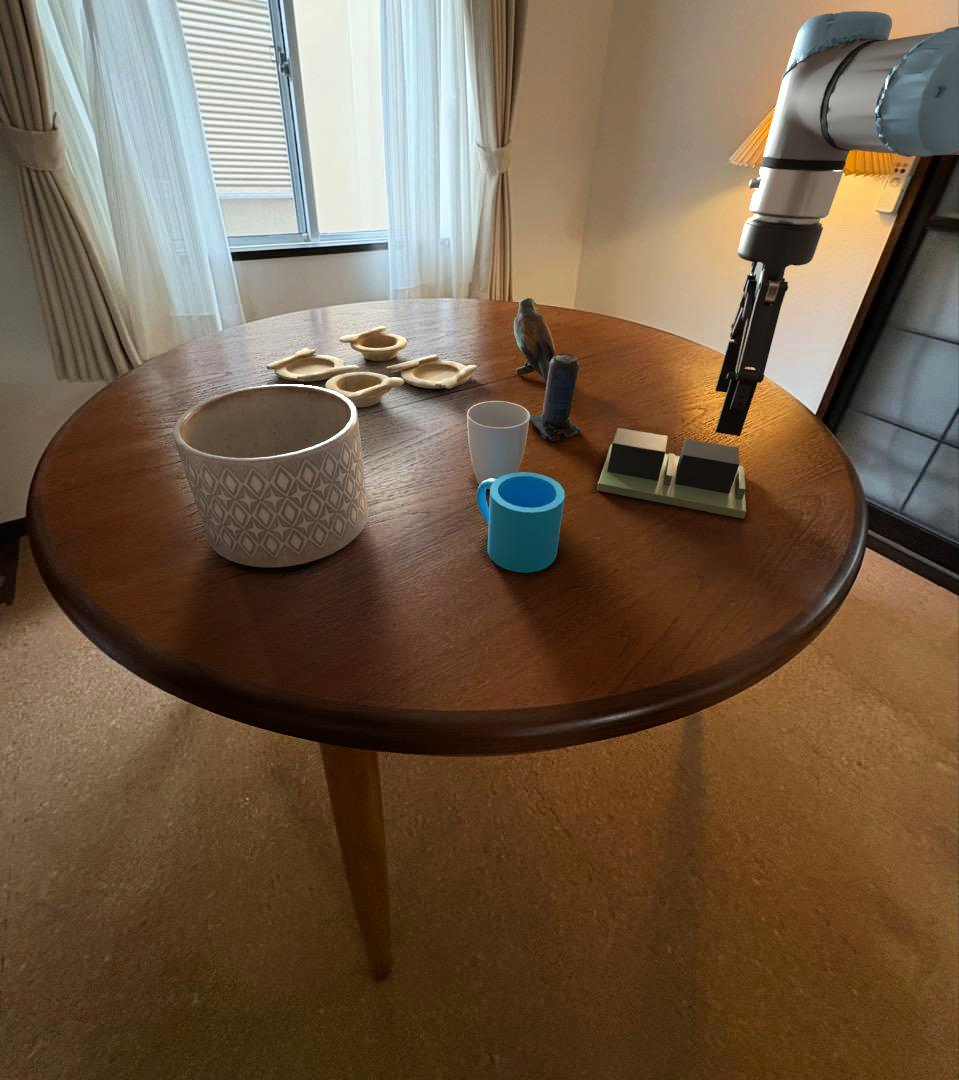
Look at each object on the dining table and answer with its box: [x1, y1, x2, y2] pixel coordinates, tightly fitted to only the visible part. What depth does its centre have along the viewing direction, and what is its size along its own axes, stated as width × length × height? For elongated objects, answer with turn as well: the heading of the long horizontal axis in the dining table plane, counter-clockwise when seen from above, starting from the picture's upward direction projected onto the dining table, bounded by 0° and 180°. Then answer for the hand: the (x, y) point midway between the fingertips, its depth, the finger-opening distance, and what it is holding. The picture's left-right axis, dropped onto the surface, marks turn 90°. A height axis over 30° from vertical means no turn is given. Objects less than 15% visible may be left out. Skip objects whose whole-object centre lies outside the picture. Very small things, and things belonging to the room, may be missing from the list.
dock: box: [596, 427, 747, 520], centre depth 77 cm, size 19×12×6 cm, turn 71°
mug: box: [475, 471, 566, 574], centre depth 64 cm, size 12×8×8 cm
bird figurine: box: [513, 297, 557, 385], centre depth 106 cm, size 13×10×20 cm
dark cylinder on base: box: [529, 353, 581, 443], centre depth 88 cm, size 9×8×12 cm
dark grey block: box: [675, 438, 740, 494], centre depth 76 cm, size 7×5×4 cm
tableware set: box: [265, 325, 478, 408], centre depth 106 cm, size 35×29×4 cm
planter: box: [172, 384, 370, 568], centre depth 64 cm, size 19×19×14 cm
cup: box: [466, 400, 531, 490], centre depth 75 cm, size 8×8×10 cm
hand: (726, 411), depth 71 cm, fingers open, 13 cm apart
